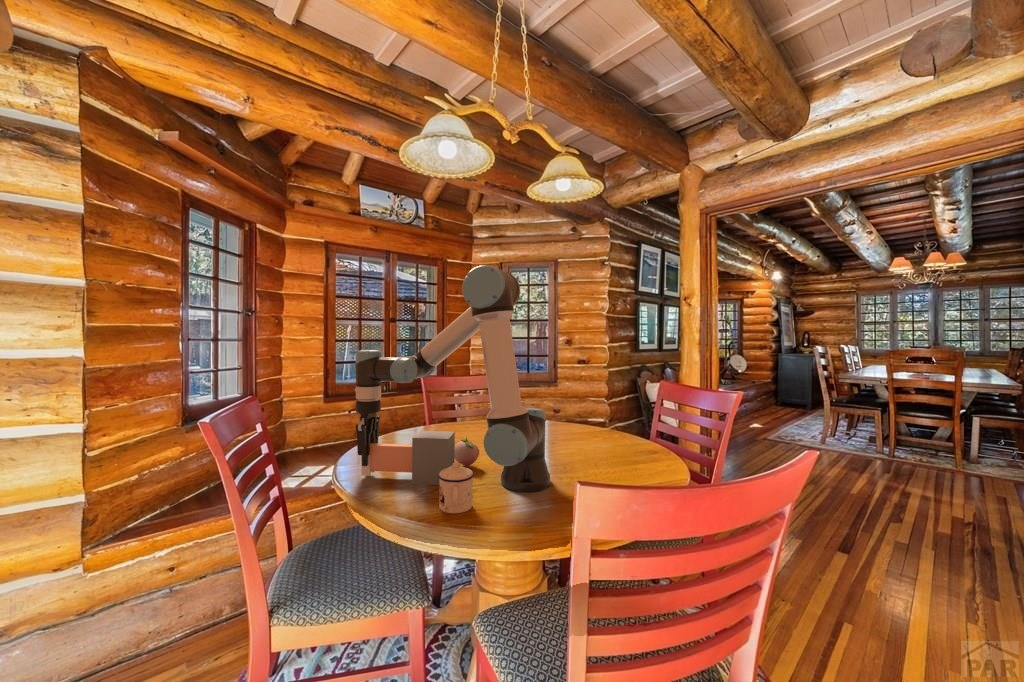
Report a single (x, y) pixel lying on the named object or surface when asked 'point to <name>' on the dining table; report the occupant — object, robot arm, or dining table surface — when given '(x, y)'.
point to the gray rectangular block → (431, 455)
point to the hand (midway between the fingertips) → (368, 473)
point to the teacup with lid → (455, 489)
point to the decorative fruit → (466, 452)
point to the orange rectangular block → (391, 457)
